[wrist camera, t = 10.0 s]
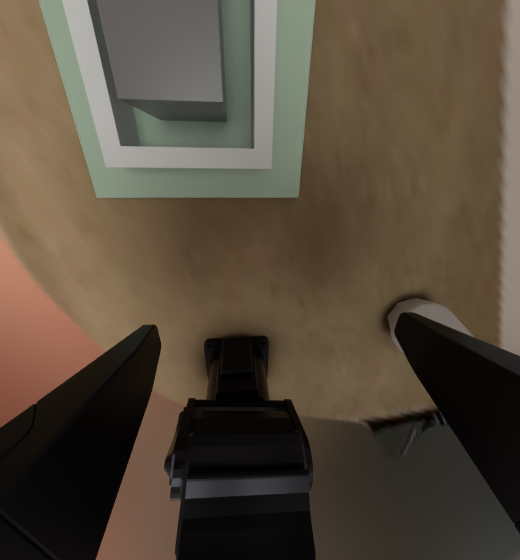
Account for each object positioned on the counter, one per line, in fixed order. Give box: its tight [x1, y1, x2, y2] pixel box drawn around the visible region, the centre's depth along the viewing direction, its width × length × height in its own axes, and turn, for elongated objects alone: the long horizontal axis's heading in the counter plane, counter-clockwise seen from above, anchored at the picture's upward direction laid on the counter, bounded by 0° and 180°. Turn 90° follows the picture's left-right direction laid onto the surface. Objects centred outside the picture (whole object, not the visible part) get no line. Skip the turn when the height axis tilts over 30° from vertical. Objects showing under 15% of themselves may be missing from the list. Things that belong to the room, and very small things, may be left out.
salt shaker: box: [387, 298, 474, 353], centre depth 19 cm, size 6×6×13 cm
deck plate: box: [39, 0, 315, 198], centre depth 12 cm, size 16×14×4 cm
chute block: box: [96, 0, 227, 122], centre depth 10 cm, size 7×4×6 cm, turn 179°
